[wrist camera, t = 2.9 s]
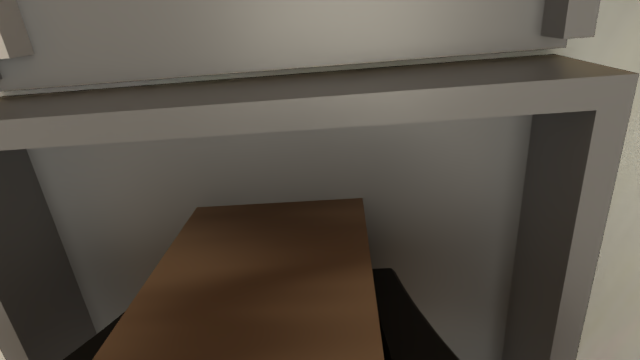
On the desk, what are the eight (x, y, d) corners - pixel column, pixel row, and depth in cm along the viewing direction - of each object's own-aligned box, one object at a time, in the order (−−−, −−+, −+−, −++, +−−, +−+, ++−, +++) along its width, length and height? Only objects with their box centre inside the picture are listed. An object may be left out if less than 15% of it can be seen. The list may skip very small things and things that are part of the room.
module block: (362, 197, 11) (392, 419, 5) (367, 329, 13) (395, 604, 7) (197, 207, 11) (45, 427, 5) (225, 334, 13) (134, 602, 7)
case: (554, 53, 10) (639, 73, 7) (508, 384, 14) (549, 476, 11) (2, 96, 11) (-114, 128, 8) (117, 394, 15) (68, 482, 12)
